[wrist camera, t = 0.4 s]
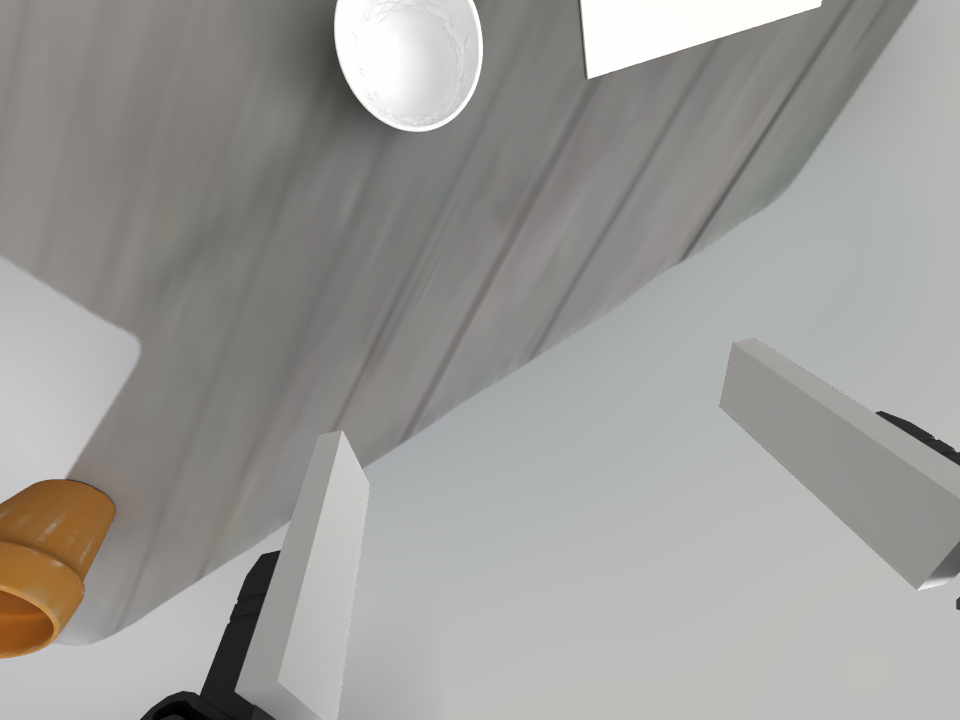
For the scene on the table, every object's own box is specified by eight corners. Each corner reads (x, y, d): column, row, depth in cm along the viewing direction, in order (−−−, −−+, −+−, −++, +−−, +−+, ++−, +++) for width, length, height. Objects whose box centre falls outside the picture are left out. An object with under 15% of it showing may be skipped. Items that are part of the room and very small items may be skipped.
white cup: (435, -21, 27) (442, -92, 18) (481, 103, 31) (504, 92, 22) (338, 36, 28) (301, -7, 19) (395, 150, 32) (385, 156, 23)
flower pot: (90, 555, 50) (-3, 674, 39) (-35, 498, 43) (-192, 623, 32) (168, 510, 48) (93, 622, 37) (50, 441, 41) (-87, 555, 30)
